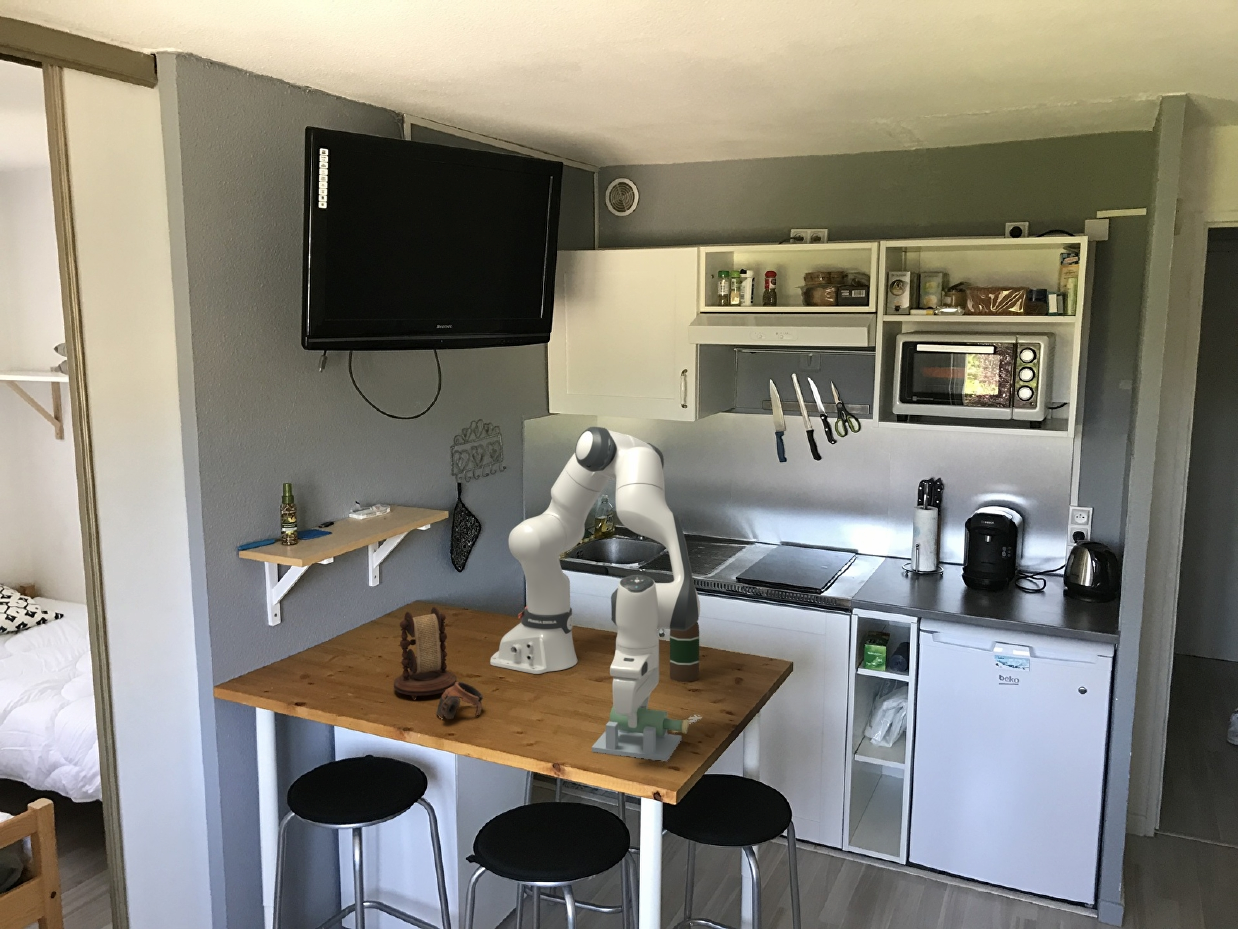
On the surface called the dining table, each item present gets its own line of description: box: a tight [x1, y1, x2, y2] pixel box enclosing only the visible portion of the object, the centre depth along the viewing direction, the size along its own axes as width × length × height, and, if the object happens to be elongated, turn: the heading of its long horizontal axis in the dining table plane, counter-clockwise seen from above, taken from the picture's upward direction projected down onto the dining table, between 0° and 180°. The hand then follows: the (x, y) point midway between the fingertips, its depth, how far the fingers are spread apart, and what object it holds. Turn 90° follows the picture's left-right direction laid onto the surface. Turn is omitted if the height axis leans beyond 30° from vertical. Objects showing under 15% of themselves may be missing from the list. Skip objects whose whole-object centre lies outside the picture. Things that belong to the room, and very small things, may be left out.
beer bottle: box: [669, 621, 700, 683], centre depth 243 cm, size 8×8×24 cm
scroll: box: [393, 606, 458, 700], centre depth 236 cm, size 15×15×20 cm
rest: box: [591, 721, 682, 762], centre depth 205 cm, size 16×11×6 cm
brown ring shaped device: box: [436, 681, 484, 720], centre depth 221 cm, size 12×10×8 cm
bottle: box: [609, 704, 690, 736], centre depth 204 cm, size 16×5×5 cm, turn 72°
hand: (638, 720), depth 204 cm, fingers closed on bottle, 5 cm apart
